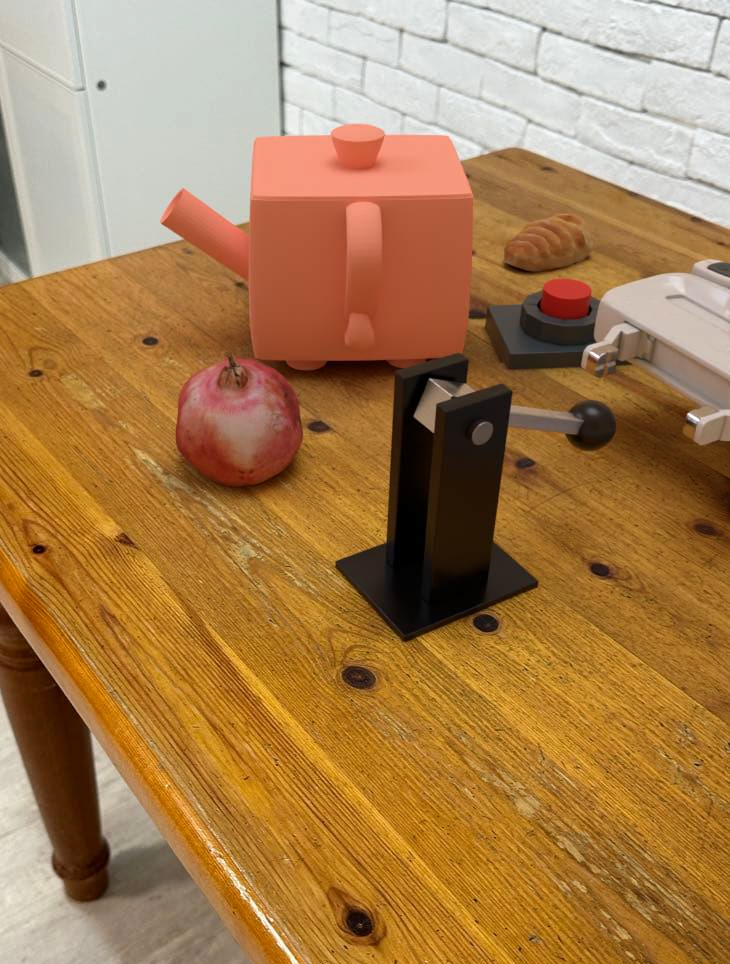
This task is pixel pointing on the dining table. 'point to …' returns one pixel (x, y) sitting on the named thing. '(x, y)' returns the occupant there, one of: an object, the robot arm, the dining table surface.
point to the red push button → (565, 299)
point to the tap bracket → (441, 509)
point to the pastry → (549, 243)
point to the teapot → (348, 247)
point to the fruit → (238, 422)
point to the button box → (540, 335)
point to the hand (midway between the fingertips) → (638, 394)
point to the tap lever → (532, 416)
